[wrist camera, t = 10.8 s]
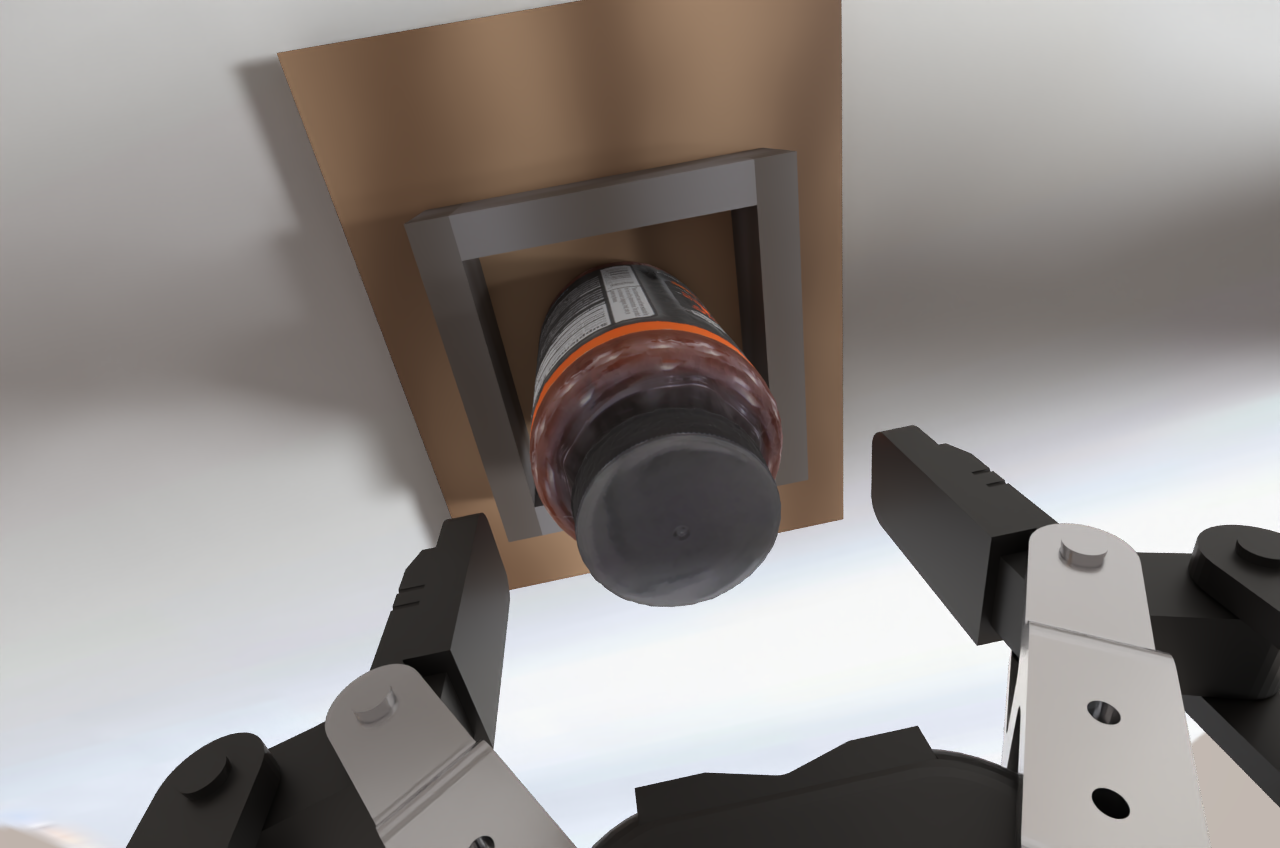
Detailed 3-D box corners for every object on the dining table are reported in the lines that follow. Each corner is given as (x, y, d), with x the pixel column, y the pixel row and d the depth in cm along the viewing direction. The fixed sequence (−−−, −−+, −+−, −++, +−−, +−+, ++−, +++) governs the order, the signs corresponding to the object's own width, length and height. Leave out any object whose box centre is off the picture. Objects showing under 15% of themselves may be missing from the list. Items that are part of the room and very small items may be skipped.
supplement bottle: (735, 357, 22) (884, 552, 12) (604, 444, 23) (641, 692, 13) (646, 218, 20) (742, 319, 9) (502, 323, 20) (451, 516, 10)
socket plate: (820, -33, 18) (894, -77, 14) (829, 500, 28) (875, 563, 24) (297, 58, 18) (222, 38, 14) (484, 572, 27) (472, 650, 23)
